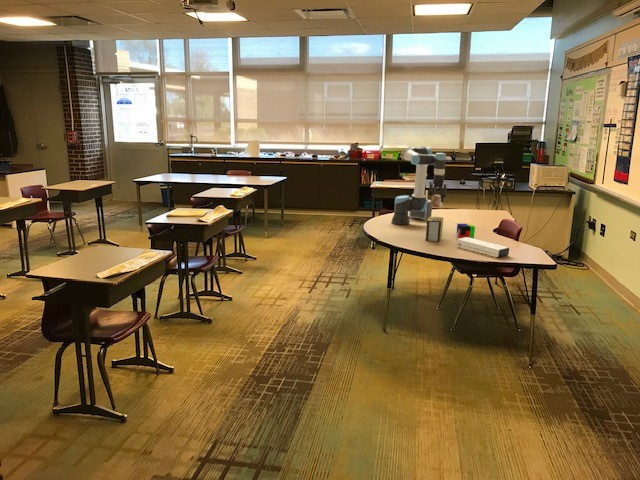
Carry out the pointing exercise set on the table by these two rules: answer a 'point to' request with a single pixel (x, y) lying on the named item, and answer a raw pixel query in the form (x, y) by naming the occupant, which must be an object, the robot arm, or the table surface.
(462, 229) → the puzzle toy
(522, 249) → the table surface
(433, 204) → the walnut block
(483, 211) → the table surface
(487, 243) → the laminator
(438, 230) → the protein box
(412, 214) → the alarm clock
